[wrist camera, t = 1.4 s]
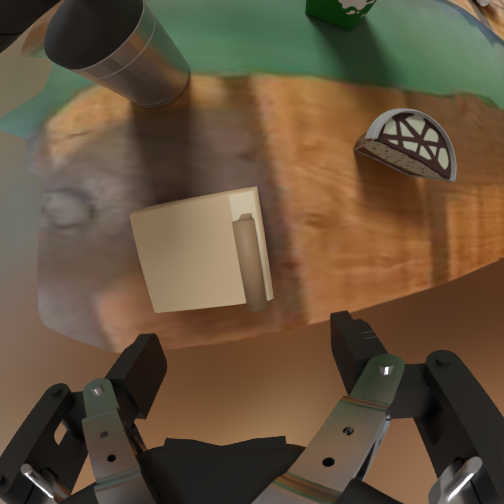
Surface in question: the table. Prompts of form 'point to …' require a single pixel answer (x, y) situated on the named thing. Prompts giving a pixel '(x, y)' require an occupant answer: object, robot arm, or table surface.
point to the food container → (410, 145)
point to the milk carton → (339, 11)
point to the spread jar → (483, 2)
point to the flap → (203, 254)
